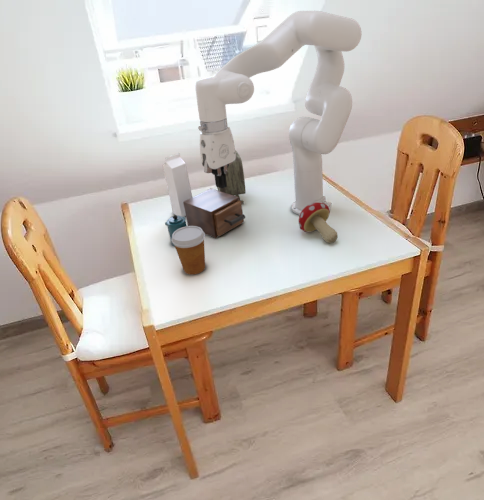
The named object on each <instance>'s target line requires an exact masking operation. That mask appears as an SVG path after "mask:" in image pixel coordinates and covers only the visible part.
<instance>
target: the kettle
mask: <svg viewBox="0 0 484 500" xmlns="http://www.w3.org/2000/svg"><path fill="white" fill-rule="evenodd" d="M164 224H165V226H166V227H167V231H168V236H169V240H170V244H171V246H173V247H175V245H174V244H173V243H172V241H171V239H172V234H173V233H174V232H175V231H176V230H177V229H179V228H182V227H186V226H188V224H187V219H186V217H182V216H177V215H175V214H173V215H172V216H171V217H169V218H168V219H167V220H166V221H165V222H164Z"/></svg>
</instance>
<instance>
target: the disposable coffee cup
mask: <svg viewBox="0 0 484 500" xmlns="http://www.w3.org/2000/svg"><path fill="white" fill-rule="evenodd" d="M205 238H206V234H205V233H204V232H203V230H202V229H201V228H200V227H197V226H188V225H187V226H186V227H182V228H179V229H177V230H176V231H175V232H174V233H173V234H172V239H171V240H170V242H171V241H172V243H173V244H174V245H175V246H174V248H175V250H176V254H177V256H178V258H179V261H180V264H181V266H182V269H183V272H184V273H185V274H186V275H189V276H190V275H198V274H201V273H202V272H204V271H205V269H206V253H205V251H206V249H205Z"/></svg>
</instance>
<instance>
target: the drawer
mask: <svg viewBox="0 0 484 500" xmlns="http://www.w3.org/2000/svg"><path fill="white" fill-rule="evenodd" d="M213 215H214V221H215V227H216V232H217V235H218V236H219V237H221V236H222V235H225V234H226V233H227V232H229V231H231V230H233V229H234V228H237V227H238V226H240V225H242V224H243V223H244V222H245V220H244V219H245V218H246V215H245V214H244V212H243V204H241V201H237V202H233V203H232V204H230V205H228V206H226V207H224V208H222V209H220V210H218V211H217V212H215V213H213Z"/></svg>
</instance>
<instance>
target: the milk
mask: <svg viewBox="0 0 484 500" xmlns="http://www.w3.org/2000/svg"><path fill="white" fill-rule="evenodd" d="M164 160H165V162H164V163H163V164H162V171H163V175H164V178H165V184H166V187H167V192H168V197H169V202H170V205H171V211H172V214H173V215H177V216H182V217H184V218H186V213H185V208H184V204H183V202H184V201H186V200H188V199H190V198H192V197H193V192H192V187H191V182H190V178H189V172H188V167H187V163H186V161H184V159H183V158H182V157H181V153H179V152H178V153H175V154H172V155H169V156H167V157H165V159H164Z"/></svg>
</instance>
